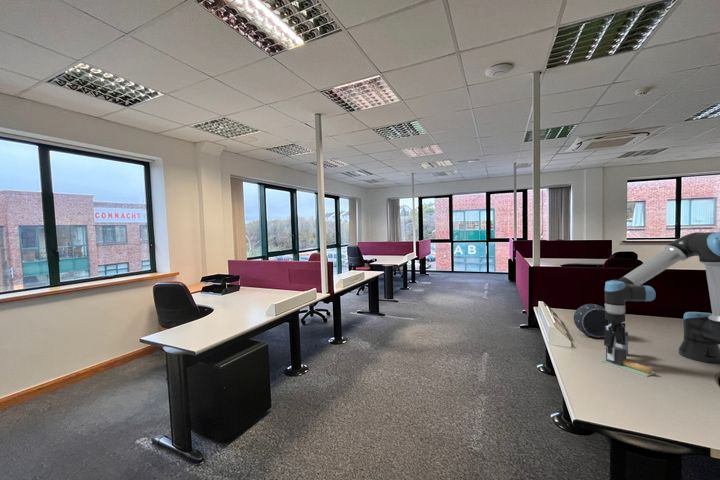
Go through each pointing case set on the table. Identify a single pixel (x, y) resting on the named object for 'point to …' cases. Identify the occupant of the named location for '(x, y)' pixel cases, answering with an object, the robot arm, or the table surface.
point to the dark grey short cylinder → (591, 320)
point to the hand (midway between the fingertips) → (615, 358)
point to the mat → (629, 368)
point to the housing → (625, 342)
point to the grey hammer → (621, 360)
